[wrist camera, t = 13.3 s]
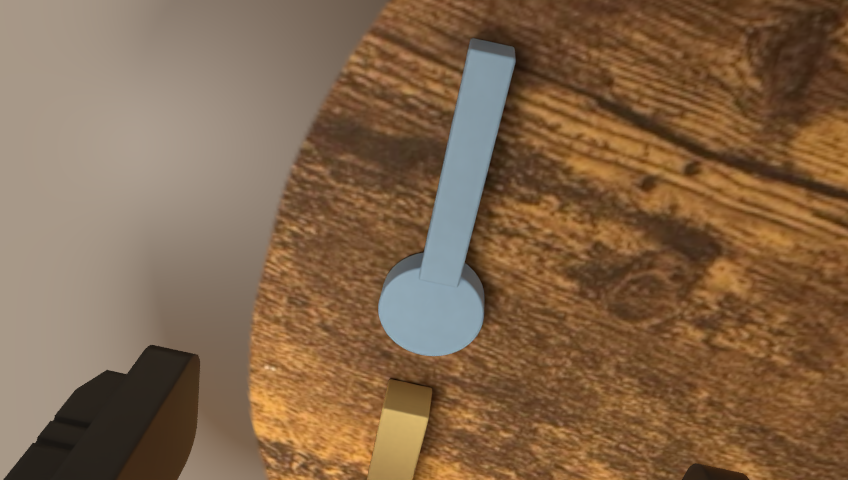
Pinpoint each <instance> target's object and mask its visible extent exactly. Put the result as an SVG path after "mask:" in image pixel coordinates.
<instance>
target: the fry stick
mask: <svg viewBox="0 0 848 480" xmlns="http://www.w3.org/2000/svg"><path fill="white" fill-rule="evenodd" d="M431 397H432V388H430V387H425V386H420V385H416V384H411V383H407V382H402V381H397V380H393V379H389V381H388V385H387V390H386V395H385V399H384V404H383V408H382V413H381V417H380V422H379V426H378V431H377V435H376V440H375V444H374V449H373V453H372V458H371V462H370V467H369V472H368V476H367V480H413V476H414V472H415V469H416V465H417V461H418V457H419V454H420V450H421V446H422V442H423V439H424V435H425V431H426V427H427V424H428V420H429V413H430V405H431Z"/></svg>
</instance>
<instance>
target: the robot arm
mask: <svg viewBox="0 0 848 480" xmlns="http://www.w3.org/2000/svg"><path fill="white" fill-rule="evenodd" d="M199 373H200V359H199V357H198V355H196V354H192V353H187V352H183V351H178V350H173V349H169V348H164V347H159V346H155V345H150V346H148V347H147V348H146V349H145V350H144V351H143V353H142V354H141V355H140V357H139V358H138V360H137V361H136V362H135V364H134V365H133V366H132V368H131V369H130V371H129V372H128V374H123V373H118V372H114V371H109V370H106V371H105V372H103V373H101V374H100V375H98V376H97V377H95V378H93V379H92V380H90V381H89V382H87V383H85V384H84V385H82V386H81V387H79V388H77V389H76V390H75V391H74V392H73V394H72V395H71V396H70V397H69V399H68V400H67V401H66V402H65V404H64V405H63V406H62V407H61V409H60V410H59V411H58V412H57V414H56V415H55V418H54V420H53V421H50V422H49V424H48V425H47V426H46V427H45V429H44V430H43V431H42V432H41V433H40V435H39V436H38V438H37V441H36V443H32V445H31V446H30V447H29V449H28V450H27V451H26V452H25V454H24V455H23V456H22V457H21V458H20V460H19V461H18V462H17V463H16V465H15V466H14V467H13V468H12V470H11V471H10V472H9V473H8V475H7V476H6V477H5V478H4V480H177V479H178V477H179V476H180V474H181V472H182V470H183V468H184V466H185V464H186V462H187V459H188V457H189V454H190V452H191V448H192V446H193V442H194V438H195V434H196V428H197V414H198V393H199ZM682 480H749V479H748V477H747V476H746V475H744V474H743V473H739V472H734V471H730V470H725V469H720V468H716V467H711V466H706V465H702V464H693V465H692V466H690V467H689V469H688V470H687V472H686V473H685V475H684V477H683V479H682Z"/></svg>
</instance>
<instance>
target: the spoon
mask: <svg viewBox="0 0 848 480" xmlns="http://www.w3.org/2000/svg"><path fill="white" fill-rule="evenodd" d="M515 62H516V58H515V49H514V47H512V46H507V45H503V44H498V43H493V42H489V41H484V40H479V39H475V38H472V39H471V40H470V43H469V48H468V52H467V57H466V62H465V66H464V71H463V75H462V80H461V84H460V89H459V94H458V98H457V103H456V107H455V112H454V116H453V121H452V125H451V130H450V135H449V139H448V144H447V148H446V153H445V157H444V162H443V167H442V171H441V176H440V180H439V185H438V189H437V194H436V199H435V203H434V208H433V212H432V217H431V221H430V226H429V231H428V235H427V240H426V244H425V249H424V253H419V254H415V255H412V256H409V257H407V258H405V259H403V260H402V261H400V262H399V263H398V264H396V265H395V266H394V267H393V268H392V269H391V271H390V272H389V274H388V275H387V277H386V279H385V282H384V285H383V289H382V292H381V296H380V300H379V306H378V311H379V318H380V321H381V324H382V326H383V328H384V330H385V331H386V333H387V334H388V336H389V337H390V338H391V339H392V340H393V341H394V342H396V343H397V344H398V345H400V346H401V347H403V348H405V349H406V350H408V351H411V352H414V353H417V354H420V355H426V356H442V355H447V354H451V353H454V352H457V351H459V350H461V349H463V348H464V347H466V346H467V345H468V344H470V343H471V342H472V341H473V340H474V339H475V337H476V336H477V335H478V333H479V331H480V329H481V327H482V324H483V319H484V290H483V286H482V283H481V281H480V279H479V278H478V276H477V274H476V273H475V272H474V271H473V270H472V269H471V268H470V267H469V266H468V265H467V264H466V263H465V259H466V255H467V251H468V247H469V243H470V239H471V235H472V231H473V227H474V224H475V220H476V216H477V212H478V208H479V204H480V200H481V196H482V192H483V188H484V184H485V180H486V176H487V172H488V168H489V164H490V160H491V157H492V153H493V149H494V145H495V141H496V137H497V133H498V129H499V125H500V121H501V117H502V113H503V109H504V105H505V101H506V97H507V94H508V90H509V86H510V82H511V78H512V74H513V70H514V66H515Z"/></svg>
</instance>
